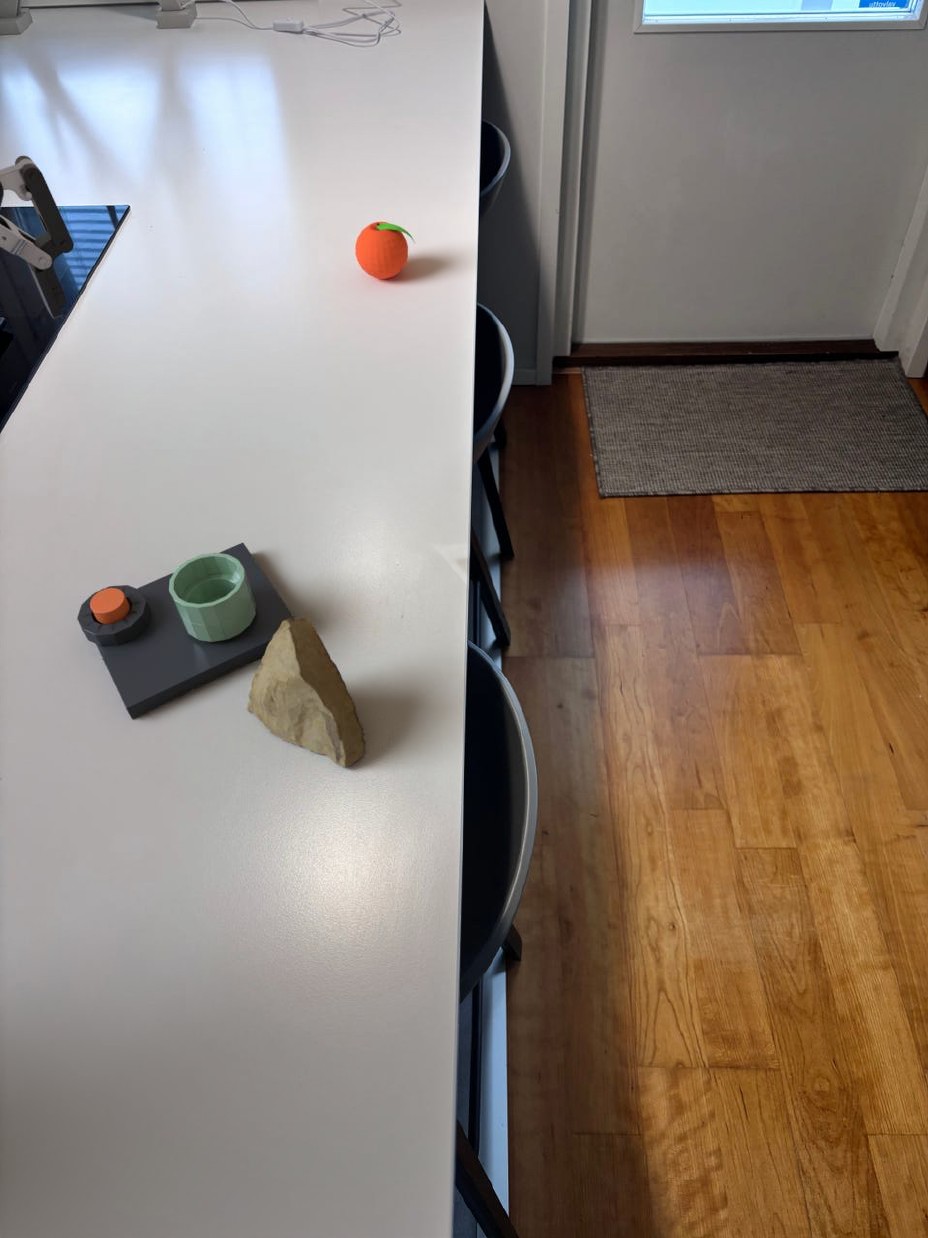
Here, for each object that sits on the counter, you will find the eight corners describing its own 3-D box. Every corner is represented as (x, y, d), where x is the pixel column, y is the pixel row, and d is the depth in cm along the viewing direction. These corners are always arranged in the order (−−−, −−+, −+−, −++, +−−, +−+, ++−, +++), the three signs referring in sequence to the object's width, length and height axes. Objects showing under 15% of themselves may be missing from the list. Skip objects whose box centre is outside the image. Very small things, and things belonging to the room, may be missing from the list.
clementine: (421, 261, 129) (416, 210, 123) (415, 288, 124) (409, 236, 119) (363, 262, 129) (356, 210, 124) (354, 288, 125) (346, 236, 120)
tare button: (101, 629, 83) (95, 618, 82) (91, 608, 85) (85, 596, 84) (134, 615, 84) (129, 603, 83) (123, 594, 86) (118, 582, 85)
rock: (402, 736, 74) (363, 637, 80) (328, 716, 68) (291, 609, 73) (308, 807, 78) (276, 708, 83) (228, 795, 71) (200, 687, 77)
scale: (127, 722, 80) (114, 699, 77) (82, 626, 87) (69, 602, 85) (303, 637, 85) (296, 613, 83) (246, 553, 93) (239, 529, 90)
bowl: (200, 656, 82) (184, 618, 78) (175, 611, 86) (158, 572, 82) (268, 624, 84) (255, 586, 80) (240, 582, 88) (227, 542, 84)
